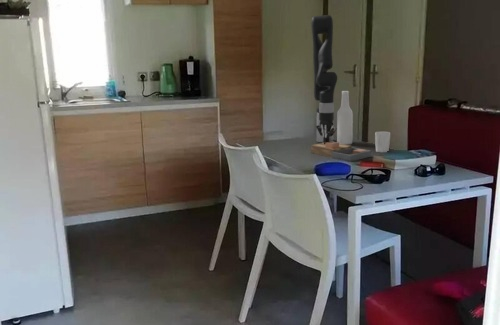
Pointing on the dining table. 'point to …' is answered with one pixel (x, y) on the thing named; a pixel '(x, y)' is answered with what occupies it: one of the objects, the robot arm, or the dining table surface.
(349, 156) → the box
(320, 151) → the oak plate
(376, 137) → the white cup
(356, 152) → the tile
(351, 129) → the alcohol
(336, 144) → the tile
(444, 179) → the dining table surface
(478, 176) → the dining table surface
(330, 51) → the robot arm
